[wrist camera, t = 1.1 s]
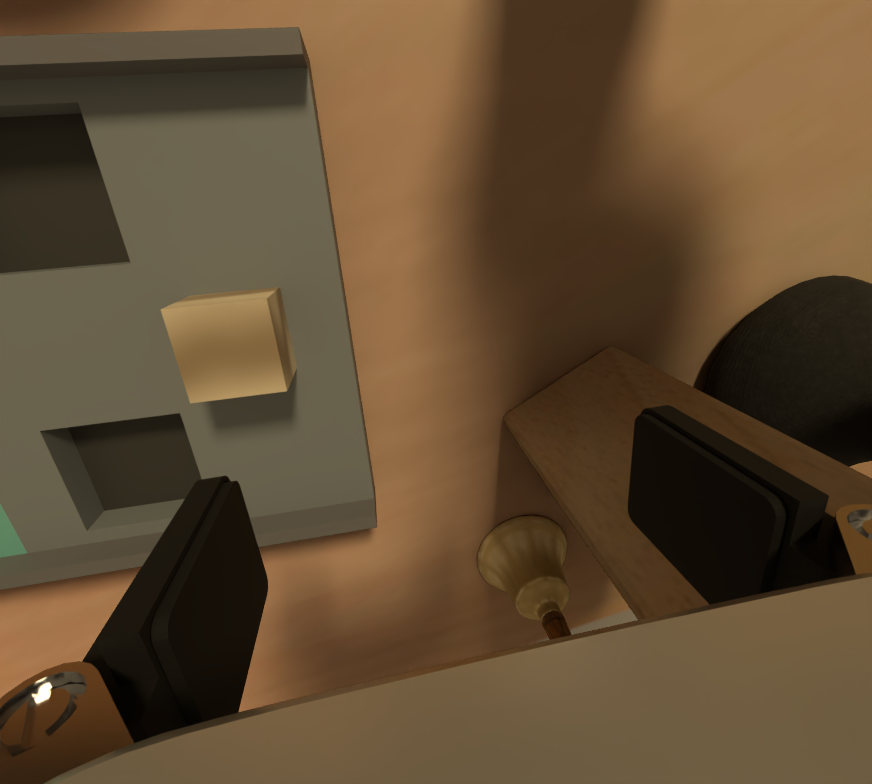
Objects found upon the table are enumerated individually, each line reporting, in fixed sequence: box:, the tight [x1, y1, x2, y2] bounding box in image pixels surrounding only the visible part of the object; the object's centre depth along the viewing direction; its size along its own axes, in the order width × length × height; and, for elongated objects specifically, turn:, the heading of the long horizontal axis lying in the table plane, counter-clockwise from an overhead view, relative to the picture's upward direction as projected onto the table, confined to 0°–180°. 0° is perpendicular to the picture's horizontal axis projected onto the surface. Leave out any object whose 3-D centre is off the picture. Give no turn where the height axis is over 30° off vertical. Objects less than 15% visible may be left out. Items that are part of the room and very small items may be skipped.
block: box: [161, 287, 297, 403], centre depth 24 cm, size 5×5×4 cm
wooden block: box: [504, 347, 872, 620], centre depth 26 cm, size 10×10×20 cm
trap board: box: [0, 27, 377, 590], centre depth 25 cm, size 28×30×4 cm
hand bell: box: [477, 515, 571, 640], centre depth 32 cm, size 8×8×16 cm
